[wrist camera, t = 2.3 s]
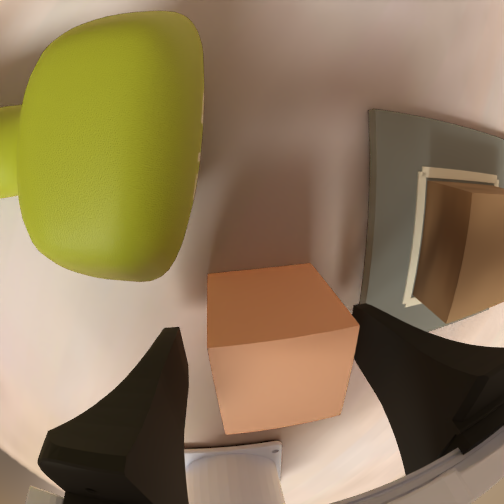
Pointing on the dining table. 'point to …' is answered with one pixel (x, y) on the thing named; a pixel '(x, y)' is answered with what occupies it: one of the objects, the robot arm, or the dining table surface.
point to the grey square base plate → (414, 200)
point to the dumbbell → (109, 145)
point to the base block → (461, 250)
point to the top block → (277, 347)
